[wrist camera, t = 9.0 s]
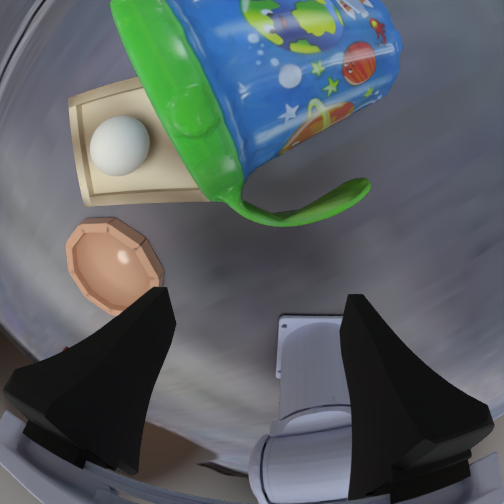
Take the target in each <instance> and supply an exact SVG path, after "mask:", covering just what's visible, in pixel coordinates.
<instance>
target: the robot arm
mask: <svg viewBox="0 0 504 504" xmlns="http://www.w3.org/2000/svg"><path fill="white" fill-rule="evenodd" d="M283 324H286V325H283ZM175 327H176V320H175V316H174V313H173V309H172V305H171V301H170V297H169V294H168V289H167V287H156V286H154V287H152V288H151V289H150V290H148V291H147V292H146V293H144V294H143V295H142V296H141V297H140V298H138V299H137V300H136V301H135V302H134V303H132V304H131V305H130V306H129V307H127V308H126V309H125V310H124V311H123V312H121V313H120V314H119V315H118V316H116V317H115V318H114V319H112V320H111V321H110V322H108V323H107V324H106V325H104V326H103V327H102V328H101V329H99V330H98V331H96V332H95V333H93V334H92V335H90V336H89V337H87V338H86V339H84V340H82V341H81V342H79V343H77V344H76V345H74V346H72V347H70V348H68V349H66V350H64V351H62V352H61V353H58V354H56V355H54V356H52V357H50V358H47V359H45V360H42V361H40V362H37V363H34V364H31V365H28V366H25V367H21V368H18V369H15V371H14V372H13V374H12V375H11V377H10V379H9V381H8V382H7V384H6V385H5V387H4V389H3V394H4V396H5V397H6V398H7V399H8V400H9V402H10V403H12V405H13V406H14V407H15V408H16V409H18V410H19V411H20V412H21V413H22V414H23V415H24V416H25V417H26V418H27V419H28V422H27V424H25V423H24V422H23V421H21V420H20V419H19V418H17V417H16V416H14V415H13V414H12V413H10V412H9V411H5V413H4V415H3V417H2V419H1V421H0V464H1V465H2V466H3V467H4V468H5V469H6V470H7V471H8V472H9V473H10V474H11V475H12V476H13V477H14V478H15V479H16V480H18V481H19V483H21V484H22V485H23V486H24V487H25V488H26V489H27V490H28V491H29V492H30V493H31V494H32V495H34V496H35V497H36V498H37V499H38V500H39V501H41V502H42V503H43V504H138V503H135V502H132V501H130V500H127V499H124V498H122V497H120V496H119V494H118V492H117V491H116V490H119V491H121V492H123V493H126V494H129V495H132V496H134V497H137V498H140V499H143V500H147V501H149V502H153V503H156V504H250V503H239V502H231V501H223V500H216V499H210V498H204V497H198V496H193V495H189V494H184V493H179V492H175V491H171V490H167V489H164V488H160V487H156V486H153V485H149V484H146V483H143V482H140V481H137V480H134V479H131V478H128V477H125V476H123V475H120V474H117V473H115V472H112V471H109V470H107V468H109V469H111V470H114V471H115V470H117V471H119V472H122V473H125V474H128V475H135V474H136V473H138V467H139V456H140V447H141V440H142V433H143V428H144V423H145V418H146V413H147V409H148V405H149V401H150V397H151V394H152V391H153V388H154V385H155V382H156V380H157V377H158V375H159V373H160V370H161V368H162V365H163V363H164V360H165V358H166V355H167V353H168V350H169V348H170V345H171V342H172V339H173V335H174V331H175ZM276 378H278V379H281V383H280V404H279V421H278V422H273V423H271V427H270V434H266V435H263V436H262V437H261V438H260V439H259V440H258V442H257V443H256V445H255V446H254V448H253V450H252V452H251V456H250V460H249V481H250V486H251V488H252V491H253V493H254V495H255V496H256V497H257V499H258V502H259V504H504V483H503V478H502V473H501V467H500V463H499V458H498V454H497V452H494V453H492V454H490V455H488V456H486V457H484V458H482V459H480V460H478V461H476V462H474V463H472V464H470V465H469V463H468V459H469V458H471V456H472V454H471V450H470V449H471V448H472V447H474V446H475V445H476V444H478V443H479V442H480V441H481V440H483V439H484V438H485V437H486V436H488V435H489V434H490V433H491V432H492V430H493V428H494V422H493V419H492V416H491V413H490V410H489V408H488V405H486V404H484V403H482V402H481V401H479V400H477V399H475V398H473V397H471V396H469V395H467V394H466V393H464V392H463V391H461V390H459V389H458V388H456V387H455V386H453V385H452V384H450V383H449V382H448V381H446V380H445V379H443V378H442V377H441V376H440V375H438V374H437V373H436V372H434V371H433V370H432V369H431V368H430V367H428V366H427V365H426V364H425V363H424V362H423V361H422V360H421V359H420V358H418V357H417V356H416V355H415V354H414V353H413V352H412V351H411V350H410V349H409V348H408V347H407V346H406V345H405V344H404V343H403V342H402V340H401V339H400V338H399V337H398V336H397V335H396V334H395V333H394V332H393V330H392V329H391V328H390V327H389V326H388V325H387V323H386V322H385V321H384V320H383V319H382V317H381V316H380V315H379V314H378V312H377V311H376V310H375V309H374V307H373V306H372V305H371V304H370V302H369V301H368V300H367V299H366V298H365V296H364V295H363V294H348V297H347V301H346V306H345V310H344V314H343V316H289V315H284V316H281V317H280V318H279V331H278V348H277V363H276ZM115 489H116V490H115ZM251 504H252V503H251Z"/></svg>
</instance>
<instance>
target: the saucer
mask: <svg viewBox="0 0 504 504" xmlns="http://www.w3.org/2000/svg"><path fill="white" fill-rule="evenodd" d="M145 238H146V237H144V236H143V235H141V234H140V233H138V232H137V231H135V230H134V229H132V228H131V227H129V226H128V225H126V224H125V223H123V222H122V221H120V220H119V219H117V218H115V217H107V218H87V219H86V220H84V221H83V222H82V223H80V224H79V225H78V227H77V228H76V229H75V231H74V232H73V234H72V235H71V236H70V238H69V239H68V241H67V242H66V254H67V263H68V271H69V273H70V274H71V276H72V278H73V279H74V281H75V282H76V284H77V285H78V287H79V288H80V290H81V291H82V293H83V294H84V296H85V297H86V298H87V299H89V300H90V301H91V302H93V303H94V304H96V305H97V306H98V307H100V308H101V309H103V310H104V311H106V312H107V313H109V314H111V315H115V316H118V315H119V314H120V313H121V312H123V311H124V310H125V309H126V308H127V307H129V306H130V305H131V304H132V303H134V302H135V301H136V300H137V299H138V298H140V297H141V296H142V295H143V294H144V293H146V292H147V291H148V290H150V289H151V288H152V287H154V286H156V287H162V286H163V278H164V269H163V267H162V266H161V264H160V262H159V260H158V258H157V257H156V255H155V253H154V251H153V249H152V247H151V245H150V244H149V242H148V240H147V239H145Z"/></svg>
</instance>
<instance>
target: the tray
mask: <svg viewBox="0 0 504 504" xmlns="http://www.w3.org/2000/svg"><path fill="white" fill-rule="evenodd" d="M68 103H69V116H70V126H71V135H72V143H73V150H74V157H75V163H76V169H77V174H78V179H79V184H80V189H81V194H82V199H83V203H84V207H91V206H105V205H122V204H141V203H167V202H212V201H210V200H208V199H207V198H206V197H205V195H204V194H203V193H202V192H201V190H200V189H199V187H198V186H197V185H196V183H195V181H194V180H193V178H192V177H191V175H190V173H189V172H188V170H187V168H186V166H185V165H184V163H183V162H182V160H181V158H180V156H179V154H178V153H177V151H176V149H175V147H174V145H173V144H172V142H171V140H170V138H169V137H168V135H167V133H166V131H165V129H164V127H163V126H162V124H161V122H160V120H159V118H158V116H157V114H156V112H155V110H154V108H153V106H152V104H151V102H150V100H149V98H148V96H147V94H146V92H145V90H144V88H143V86H142V84H141V82H140V81H139V78H138V77H134V78H130V79H127V80H123V81H119V82H116V83H112V84H109V85H105V86H102V87H99V88H96V89H93V90H90V91H87V92H84V93H81V94H78V95H76V96H73V97H70V98H68ZM119 115H126V116H131V117H134V118H136V119H137V120H139V121H140V122H141V123H142V124H143V125H144V126H145V128H146V130H147V132H148V135H149V139H150V146H149V151H148V155H147V157H146V159H145V160H144V162H143V163H142V165H141V166H140V167H139V168H138V169H136V170H135V171H133V172H132V173H130V174H127V175H124V176H110V175H107V174H105V173H103V172H101V171H100V170H99V169H98V168H97V167H96V166H95V165H94V163H93V161H92V158H91V155H90V142H91V139H92V136H93V134H94V132H95V130H96V129H97V128H98V126H99V125H100V124H101V123H103V122H104V121H105V120H107V119H109V118H111V117H114V116H119Z"/></svg>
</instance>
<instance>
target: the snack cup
mask: <svg viewBox="0 0 504 504" xmlns="http://www.w3.org/2000/svg"><path fill="white" fill-rule="evenodd" d="M110 7H111V12H112V15H113V19H114V21H115V24H116V27H117V29H118V32H119V34H120V37H121V39H122V42H123V45H124V47H125V50H126V52H127V54H128V56H129V58H130V61H131V63H132V65H133V67H134V69H135V72H136V74H137V76H138V78H139V81H140V82H141V84H142V86H143V88H144V90H145V92H146V94H147V96H148V98H149V100H150V102H151V104H152V106H153V108H154V110H155V112H156V114H157V116H158V118H159V120H160V122H161V124H162V126H163V127H164V129H165V131H166V133H167V135H168V137H169V138H170V140H171V142H172V144H173V145H174V147H175V149H176V151H177V153H178V154H179V156H180V158H181V160H182V162H183V163H184V165H185V166H186V168H187V170H188V172H189V173H190V175H191V177H192V178H193V180H194V181H195V183H196V185H197V186H198V187H199V189H200V190H201V192H202V193H203V194H204V195H205V197H206V198H207V199H208V200H210V201H212V202H224V203H226V204H228V205H229V206H230V207H231V208H232V209H234V210H235V211H236V212H237V213H239V214H240V215H242V216H243V217H245V218H247V219H249V220H251V221H254V222H257V223H260V224H264V225H268V226H276V227H290V226H299V225H305V224H309V223H314V222H316V221H320V220H323V219H326V218H329V217H331V216H334V215H337V214H339V213H341V212H342V211H344V210H346V209H348V208H350V207H351V206H353V205H354V204H356V203H357V202H359V201H360V200H361V199H362V198H363V197H364V196H366V195H367V194H368V192H369V191H370V189H371V183H370V181H369V180H368V179H366V178H357V179H353V180H350V181H347V182H345V183H343V184H341V185H340V186H339V187H337V188H336V189H334V190H332V191H330V192H329V193H327V194H325V195H324V196H322V197H321V198H319V199H317V200H316V201H314V202H312V203H310V204H309V205H307V206H305V207H304V208H302V209H299V210H292V211H286V212H278V213H272V214H271V213H269V212H267V211H264V210H262V209H260V208H258V207H256V206H254V205H252V204H250V203H247V202H245V201H243V199H242V189H243V186H244V184H245V182H246V180H247V178H248V177H249V175H250V174H251V173H252V172H253V171H254V170H255V169H257V168H258V167H259V166H261V165H263V164H265V163H267V162H268V161H270V160H272V159H273V158H275V157H277V156H280V155H281V154H283V153H285V152H287V151H288V150H290V149H291V148H293V147H295V146H296V145H298V144H300V143H302V142H303V141H305V140H307V139H309V138H310V137H312V136H314V135H316V134H318V133H319V132H321V131H323V130H325V129H327V128H328V127H330V126H332V125H334V124H336V123H337V122H339V121H341V120H343V119H345V118H346V117H348V116H350V115H351V114H353V113H354V112H357V111H359V110H360V109H361V108H364V107H366V106H368V105H370V104H372V103H374V102H376V101H378V100H379V99H381V98H383V97H384V96H386V95H387V94H388V93H387V92H388V91H389V90H390V88H391V87H392V85H393V83H394V82H395V80H396V78H397V75H398V71H399V68H400V53H401V51H402V48H403V45H402V39H401V36H400V33H399V32H398V31H397V30H396V29H395V27H394V25H393V22H392V20H391V17H390V14H389V12H388V10H387V8H386V7H385V5H384V4H383V3H382V2H381V1H380V0H112V1H111V2H110Z"/></svg>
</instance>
